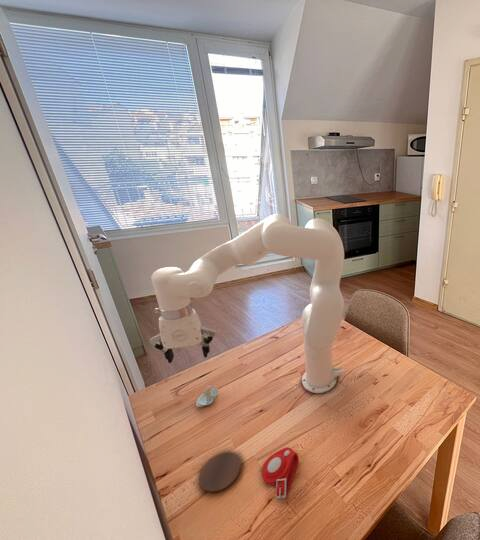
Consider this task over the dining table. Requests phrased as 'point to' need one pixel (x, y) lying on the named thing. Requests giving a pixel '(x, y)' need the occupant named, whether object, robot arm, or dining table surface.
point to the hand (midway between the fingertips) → (189, 357)
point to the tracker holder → (281, 470)
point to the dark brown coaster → (220, 472)
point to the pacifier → (207, 396)
